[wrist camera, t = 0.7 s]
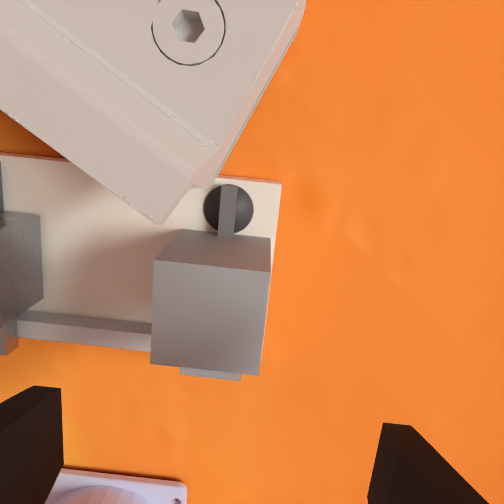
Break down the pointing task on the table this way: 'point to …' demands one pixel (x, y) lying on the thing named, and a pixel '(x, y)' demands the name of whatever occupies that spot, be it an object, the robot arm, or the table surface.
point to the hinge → (142, 85)
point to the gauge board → (150, 267)
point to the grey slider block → (18, 270)
